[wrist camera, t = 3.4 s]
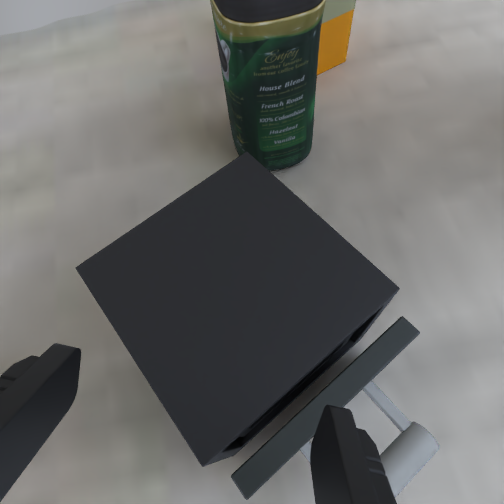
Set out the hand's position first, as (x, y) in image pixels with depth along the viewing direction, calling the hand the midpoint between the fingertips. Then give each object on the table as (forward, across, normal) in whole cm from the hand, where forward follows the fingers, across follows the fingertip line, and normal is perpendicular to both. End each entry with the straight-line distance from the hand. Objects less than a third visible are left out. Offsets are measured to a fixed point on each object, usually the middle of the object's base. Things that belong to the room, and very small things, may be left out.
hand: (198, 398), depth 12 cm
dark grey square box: (+17, -2, +6) cm, 18 cm away
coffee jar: (+31, -1, -8) cm, 32 cm away
